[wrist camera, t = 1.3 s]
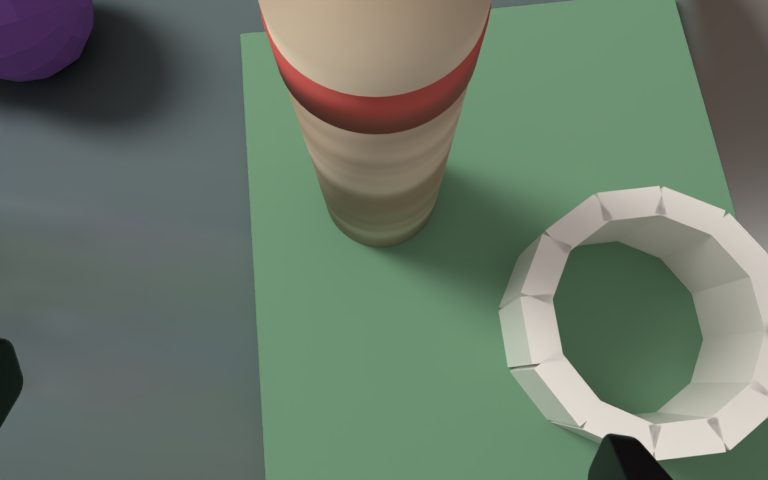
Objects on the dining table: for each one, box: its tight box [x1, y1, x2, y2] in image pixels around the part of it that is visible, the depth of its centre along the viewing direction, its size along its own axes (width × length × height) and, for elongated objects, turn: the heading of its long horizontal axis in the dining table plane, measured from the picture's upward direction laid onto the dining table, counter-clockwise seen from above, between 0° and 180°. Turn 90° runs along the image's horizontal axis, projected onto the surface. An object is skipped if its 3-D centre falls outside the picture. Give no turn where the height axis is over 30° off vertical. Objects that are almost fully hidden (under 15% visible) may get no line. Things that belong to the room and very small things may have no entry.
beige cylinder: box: [258, 0, 492, 247], centre depth 16 cm, size 4×4×12 cm
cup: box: [499, 186, 768, 460], centre depth 19 cm, size 8×8×4 cm
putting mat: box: [240, 0, 768, 480], centre depth 22 cm, size 22×19×1 cm
